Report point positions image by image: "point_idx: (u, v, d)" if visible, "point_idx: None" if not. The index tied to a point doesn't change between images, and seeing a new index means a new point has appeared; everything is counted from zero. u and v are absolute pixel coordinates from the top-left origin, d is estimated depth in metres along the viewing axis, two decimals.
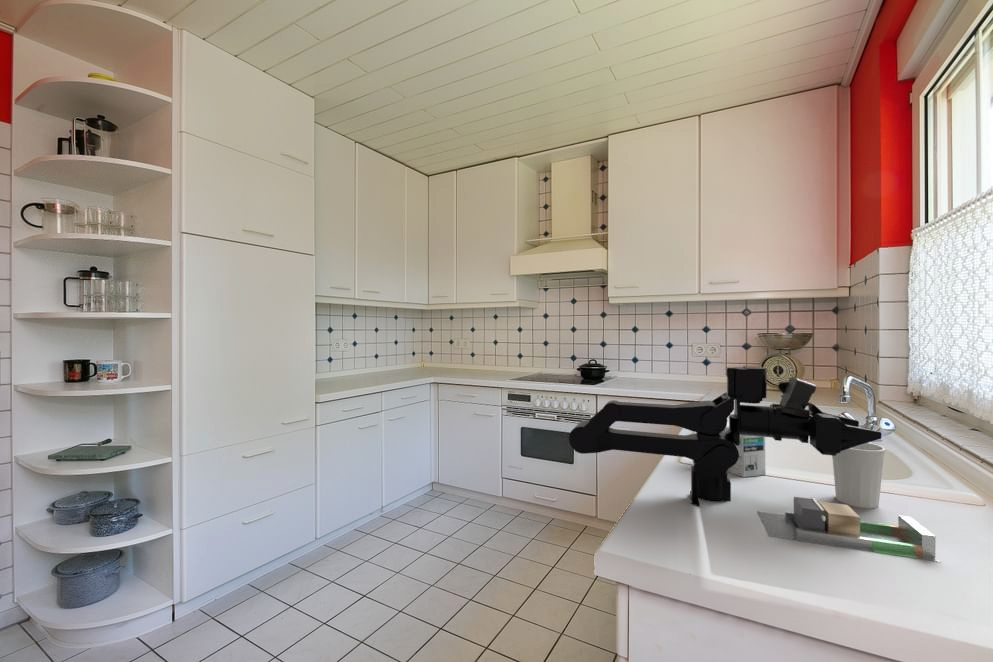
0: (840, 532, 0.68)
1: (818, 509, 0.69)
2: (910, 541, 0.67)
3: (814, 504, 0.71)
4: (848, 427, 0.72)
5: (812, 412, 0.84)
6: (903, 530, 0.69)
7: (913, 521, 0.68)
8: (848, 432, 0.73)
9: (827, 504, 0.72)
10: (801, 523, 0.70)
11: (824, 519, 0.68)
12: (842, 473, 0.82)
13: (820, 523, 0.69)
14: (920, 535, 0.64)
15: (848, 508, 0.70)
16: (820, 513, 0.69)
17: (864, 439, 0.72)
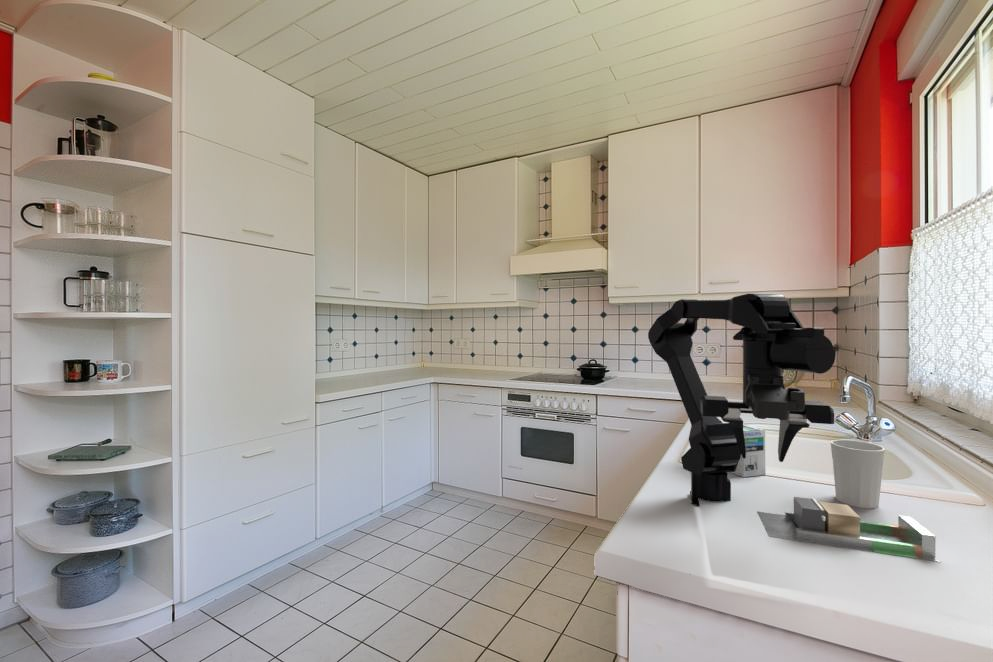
0: (840, 532, 0.68)
1: (818, 509, 0.69)
2: (910, 541, 0.67)
3: (814, 504, 0.71)
4: (733, 429, 0.74)
5: (788, 421, 0.71)
6: (903, 530, 0.69)
7: (913, 521, 0.68)
8: None
9: (827, 504, 0.72)
10: (801, 523, 0.70)
11: (824, 519, 0.68)
12: (842, 473, 0.82)
13: (820, 523, 0.69)
14: (920, 535, 0.64)
15: (848, 508, 0.70)
16: (820, 513, 0.69)
17: (737, 441, 0.76)
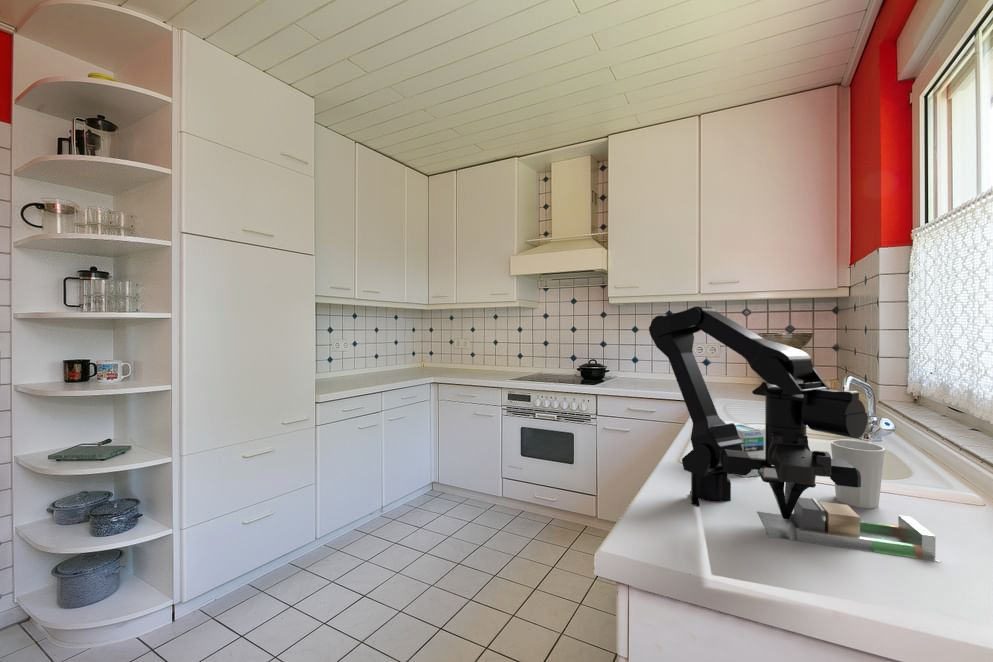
0: (840, 532, 0.68)
1: (818, 509, 0.69)
2: (910, 541, 0.67)
3: (814, 504, 0.71)
4: (773, 489, 0.72)
5: None
6: (903, 530, 0.69)
7: (913, 521, 0.68)
8: None
9: (827, 504, 0.72)
10: (801, 523, 0.70)
11: (824, 519, 0.68)
12: None
13: (820, 523, 0.69)
14: (920, 535, 0.64)
15: (848, 508, 0.70)
16: (820, 513, 0.69)
17: (776, 500, 0.74)
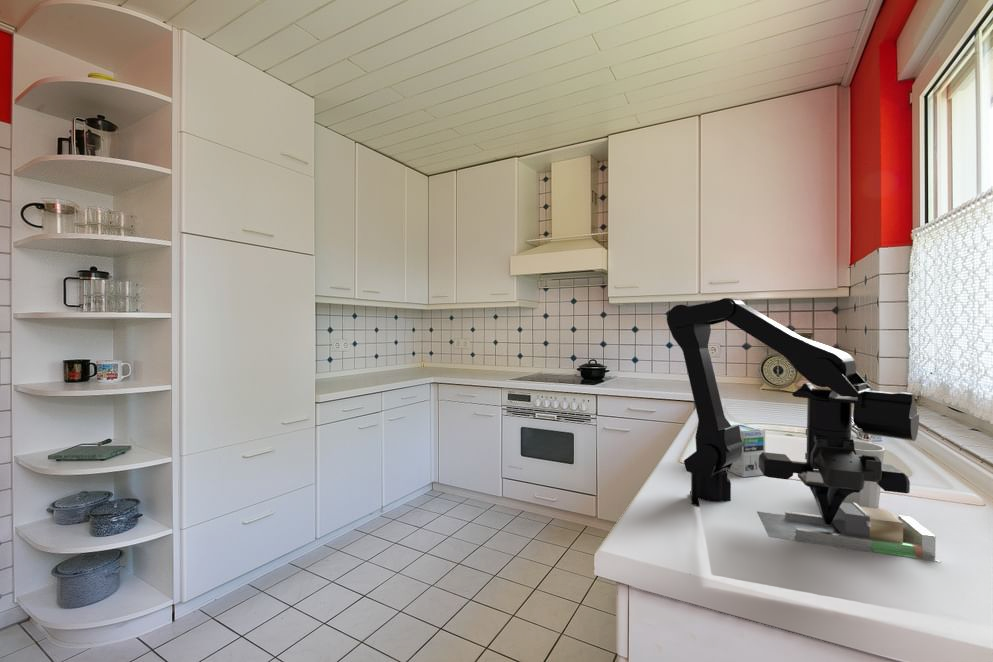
0: (882, 538, 0.66)
1: (862, 515, 0.67)
2: (910, 541, 0.67)
3: (857, 509, 0.69)
4: (816, 494, 0.70)
5: None
6: (903, 530, 0.69)
7: (913, 521, 0.68)
8: None
9: (866, 509, 0.70)
10: (844, 529, 0.68)
11: (870, 525, 0.66)
12: None
13: (865, 529, 0.67)
14: (920, 535, 0.64)
15: (889, 513, 0.68)
16: (865, 519, 0.67)
17: (818, 505, 0.72)
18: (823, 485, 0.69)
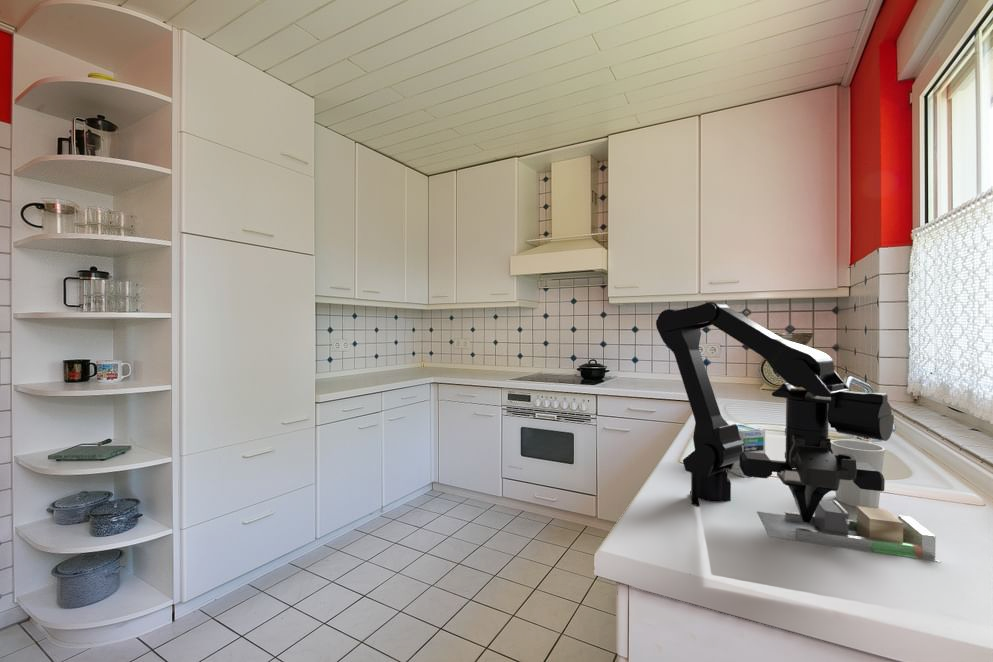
0: (882, 538, 0.66)
1: (841, 512, 0.68)
2: (910, 541, 0.67)
3: (837, 507, 0.70)
4: (794, 492, 0.71)
5: None
6: (903, 530, 0.69)
7: (913, 521, 0.68)
8: None
9: (866, 509, 0.70)
10: (824, 526, 0.69)
11: (848, 522, 0.67)
12: None
13: (844, 526, 0.68)
14: (920, 535, 0.64)
15: (889, 513, 0.68)
16: (844, 516, 0.68)
17: (796, 503, 0.73)
18: (800, 484, 0.70)
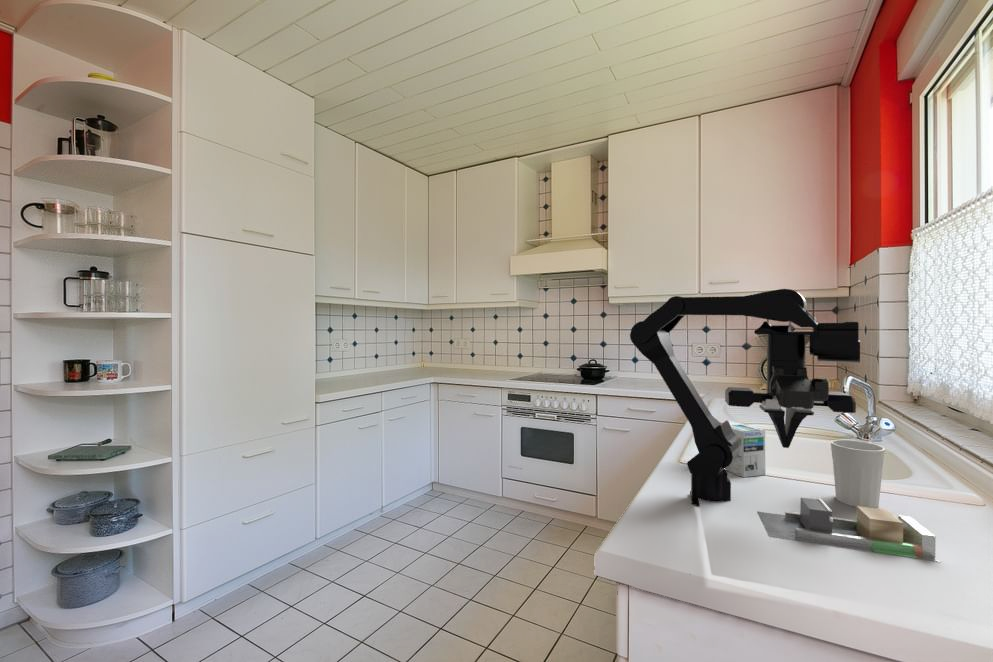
0: (882, 538, 0.66)
1: (825, 510, 0.69)
2: (910, 541, 0.67)
3: (821, 505, 0.71)
4: (774, 420, 0.77)
5: (794, 410, 0.76)
6: (903, 530, 0.69)
7: (913, 521, 0.68)
8: None
9: (866, 509, 0.70)
10: (808, 524, 0.70)
11: (832, 520, 0.68)
12: (842, 473, 0.82)
13: (827, 524, 0.69)
14: (920, 535, 0.64)
15: (889, 513, 0.68)
16: (827, 514, 0.69)
17: (777, 432, 0.79)
18: (780, 410, 0.76)
